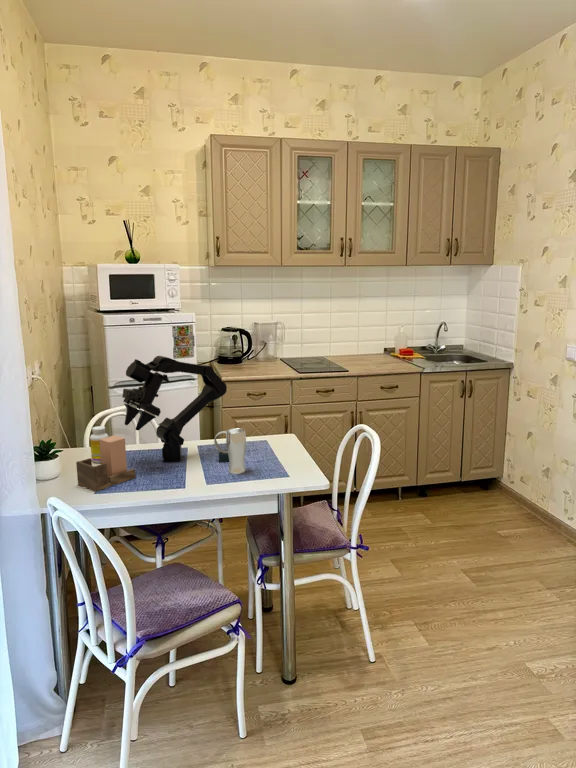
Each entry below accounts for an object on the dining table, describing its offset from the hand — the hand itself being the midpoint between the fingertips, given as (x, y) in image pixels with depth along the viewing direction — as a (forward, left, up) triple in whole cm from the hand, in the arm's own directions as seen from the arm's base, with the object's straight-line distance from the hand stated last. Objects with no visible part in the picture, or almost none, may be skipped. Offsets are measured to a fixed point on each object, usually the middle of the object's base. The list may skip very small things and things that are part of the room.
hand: (131, 427), depth 209 cm
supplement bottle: (+14, -10, -16) cm, 23 cm away
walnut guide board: (+6, +13, -15) cm, 21 cm away
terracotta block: (+4, +10, -14) cm, 18 cm away
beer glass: (-38, +5, -16) cm, 41 cm away
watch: (-33, -8, -16) cm, 37 cm away
